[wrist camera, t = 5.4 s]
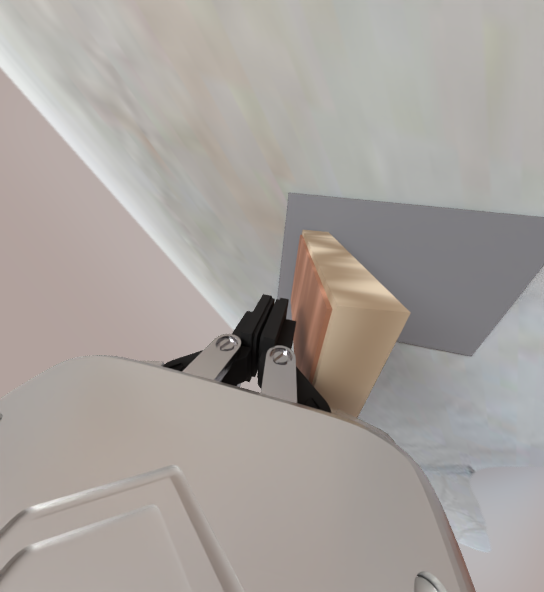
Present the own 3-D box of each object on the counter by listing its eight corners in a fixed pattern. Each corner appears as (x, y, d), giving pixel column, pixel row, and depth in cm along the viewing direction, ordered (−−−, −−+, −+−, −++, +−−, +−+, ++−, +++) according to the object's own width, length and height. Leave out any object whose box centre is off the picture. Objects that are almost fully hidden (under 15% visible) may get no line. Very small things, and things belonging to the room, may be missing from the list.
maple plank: (328, 232, 19) (410, 312, 7) (313, 302, 23) (347, 436, 11) (300, 229, 19) (331, 305, 7) (290, 300, 23) (297, 431, 11)
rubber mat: (571, 219, 15) (578, 220, 15) (468, 352, 22) (471, 356, 21) (289, 192, 19) (288, 192, 18) (276, 314, 25) (275, 316, 25)
